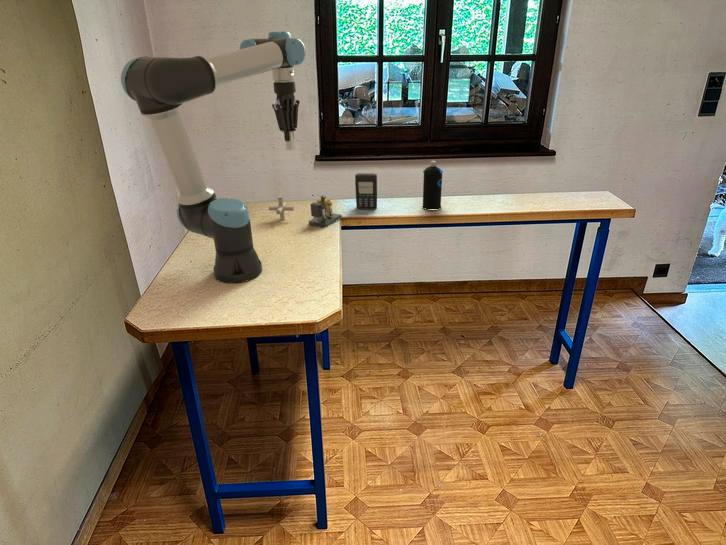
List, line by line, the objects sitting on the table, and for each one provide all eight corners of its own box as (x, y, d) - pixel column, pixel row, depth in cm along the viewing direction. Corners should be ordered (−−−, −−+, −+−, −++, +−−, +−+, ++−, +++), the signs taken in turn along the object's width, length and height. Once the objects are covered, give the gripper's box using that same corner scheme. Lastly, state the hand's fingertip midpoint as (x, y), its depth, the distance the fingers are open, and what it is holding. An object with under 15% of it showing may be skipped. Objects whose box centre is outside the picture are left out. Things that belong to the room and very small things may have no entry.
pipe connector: (297, 215, 200) (295, 192, 196) (291, 224, 192) (289, 200, 187) (274, 215, 201) (271, 192, 197) (267, 224, 192) (264, 200, 188)
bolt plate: (325, 227, 187) (323, 207, 183) (308, 224, 191) (307, 204, 187) (341, 218, 196) (340, 198, 193) (325, 215, 200) (324, 195, 196)
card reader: (355, 209, 206) (354, 175, 199) (356, 206, 209) (355, 172, 202) (376, 209, 205) (376, 175, 198) (377, 206, 208) (377, 172, 201)
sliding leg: (329, 218, 191) (328, 198, 187) (317, 216, 193) (316, 196, 190) (334, 215, 194) (333, 196, 190) (322, 213, 196) (321, 194, 192)
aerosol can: (422, 210, 202) (424, 163, 193) (421, 204, 209) (422, 159, 200) (442, 210, 202) (444, 163, 193) (440, 204, 209) (442, 158, 200)
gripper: (280, 83, 159) (287, 154, 169) (303, 79, 169) (309, 146, 179) (263, 82, 162) (271, 152, 173) (287, 79, 172) (293, 145, 183)
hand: (290, 149), depth 176 cm, fingers closed
